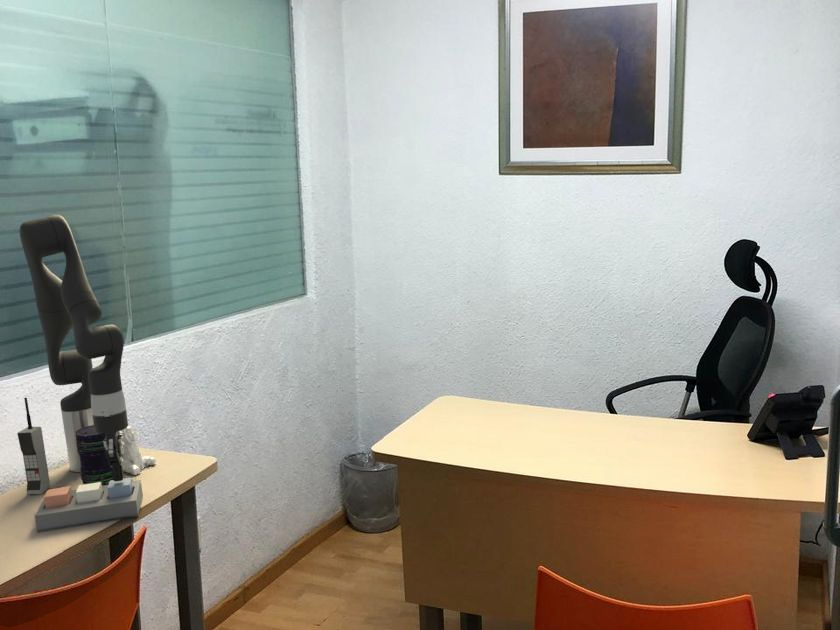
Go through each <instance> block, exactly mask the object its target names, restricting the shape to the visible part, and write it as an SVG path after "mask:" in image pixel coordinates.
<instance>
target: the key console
mask: <svg viewBox="0 0 840 630" xmlns="http://www.w3.org/2000/svg"><path fill="white" fill-rule="evenodd" d="M132 484H133V495H129V496H122V497H115V498H109V495H108V485H104V486H102V491H103V497H102V500H95V501H89V502H82V503H77V496H76V491H77V489H71V494H72V501H71V503H70V504H69V505H62V506H55V507H49V508H46V507H45V501H44V498H43V500H42V501H41V503H40V505H39V507H38V509H37V511H36V512H35V514H34V519H35V527H36V531H37V533H43V532H49V531H55V530H61V529H66V528H67V529H69V528H73V527H81V526H85V525H93V524H100V523H104V522H105V523H106V522H112V521H120V520H126V519H132V518H138V517H139V514H140V511H141V510H140V509H141V505H142V500H143V497H144V496H143V495H144V494H143V493H144V492H143V486H142V480H141V479H140V480H134V481H133V480H132Z"/></svg>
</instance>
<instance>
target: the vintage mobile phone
mask: <svg viewBox="0 0 840 630" xmlns="http://www.w3.org/2000/svg"><path fill="white" fill-rule="evenodd" d="M24 404H25V405H24V407H25V411H26V421H27V426H26V427H25V428H23V429H22V430H20V431H18V432H17V440H18V442H19V443H18V444H19V448H20V452H21V454H22V457H23V463H24V465H23V466H24V471H25V476H26V477H25V478H26V494H27V495H28V494H34V495H42V494H43V493H44V492H46V491H48V490H49V489H50V488H51V480H50V475H49V468H48V462H47V457H46V450H45V449H46V447H45V442H44V436H43V431H42V427H41V426H32V419H31V414H30V410H29V409H30V408H29V403H28V398H27V397H24ZM45 490H46V491H45ZM41 493H42V494H41Z"/></svg>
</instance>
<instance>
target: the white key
mask: <svg viewBox="0 0 840 630" xmlns="http://www.w3.org/2000/svg"><path fill="white" fill-rule="evenodd" d="M76 490H77V491H76V496H77V503H82V502H89V501H95V500H102V497H103V491H102V484H101V482H97V483H91V484H84V485H83V484H78V487H77V489H76Z"/></svg>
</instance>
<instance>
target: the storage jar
mask: <svg viewBox="0 0 840 630" xmlns="http://www.w3.org/2000/svg"><path fill="white" fill-rule="evenodd" d="M75 435H76V441H77V442H76V445H77V452H78V454H79V456H80V463H81V468H80V470H81V471H80V472H79V473H80V479H81V481H82V485H84V484H91V483H97V482H101V484H102V486H104V485H109V482H110V481H111V480H113V473H112V467H110V466H109V463H108V460H107V457H106V454H105V450H106V448H105V447H104V442H103V440H105V437H106V434H104V433H97V432H95V429H94V425H91V426H87V427H84V428H81V429H79V430H77V431H76V432H75Z"/></svg>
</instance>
